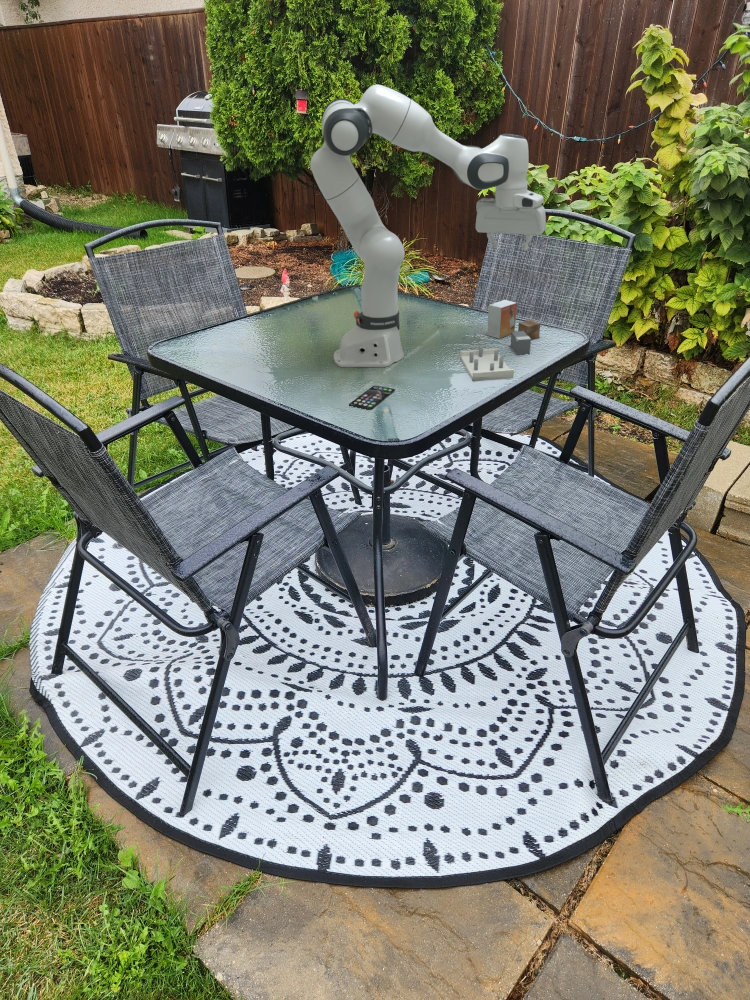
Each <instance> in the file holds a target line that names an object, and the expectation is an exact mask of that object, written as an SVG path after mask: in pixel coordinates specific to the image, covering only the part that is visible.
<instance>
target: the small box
mask: <svg viewBox="0 0 750 1000" xmlns="http://www.w3.org/2000/svg"><path fill="white" fill-rule="evenodd" d="M517 304H518V303H517V302H515V301H511V300H507V299H503V300H500V301H497V302H493V303H491V304H488V309H487V310H488V313H487V314H488V315H487V316H488V317H487V328H486V329H487V331H486V333H487V336H489V337H493V338H496V339H499V340H500V339H502V338H505V337H508V336H511V332H516V331H515V329H516V317H517V306H518V305H517Z"/></svg>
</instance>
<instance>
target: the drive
mask: <svg viewBox="0 0 750 1000" xmlns="http://www.w3.org/2000/svg"><path fill="white" fill-rule="evenodd" d="M531 344H532V340H531V338H530V337H529V336H528V335H527V334H526V333H525V332H524V331H518V330H517V331H515V332H511V335H510V348H511V349H512V351H513V352H514V353H515V355H516V356H526V355H525V354H528V355H530V354H531V353H530V352H531Z"/></svg>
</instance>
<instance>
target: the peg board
mask: <svg viewBox="0 0 750 1000" xmlns="http://www.w3.org/2000/svg"><path fill="white" fill-rule="evenodd" d="M459 352H460V353H459V354H460V355H459V358H460V359H459V360H460V361H461V363H462V364H463V366H464V368H465V370H466V372H467V373H468V375H469V376H470V379H471V380H472V382H477V381H489V380H492V381H493V380H501V379H504V380H505V379H513V378H514V377H515V376H514V375H515V369H514V368H509V366H508V365H507V363H506V362H505V360H504V359H505V358H504V357H502V356H501V355H500V349H499V348H485V349H484V346H483V345H482V346H481V345H480V346H479V347H478V349H473V350H472V349H471V350H460V351H459Z"/></svg>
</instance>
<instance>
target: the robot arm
mask: <svg viewBox="0 0 750 1000" xmlns="http://www.w3.org/2000/svg"><path fill="white" fill-rule="evenodd" d="M323 110H324V111H323V113H322V117H321V131H322V141H323V144H322V146H321V147H320V148H318V149H317V150H316V151H315V152H314V153H313V155H312V157H311V159H310V165H309V166H310V170H311V172H312V175H313V178H314V180H315V182H316V184H317V186H318V188H319V189H318V190H320V192H321V193H322V196H323V197H324V199H325V201H326V202H327V204H328V205H329V207H330V209H331V210H332V212H333V213H334V215H335V217H336V219H337V220H338V222H339V223H340V225H341V226H342V229H343V231H344V234H345V235H346V237H347V239H348V241H349V242H350V244H351V246H352V248H353V250H354V251H355V253H356V255H357V256H358V257H359V259H361V260H362V261H363V263H364V269H363V270H364V272H363V279H362V284H361V287H360V294H361V295H360V296H361V297H360V298H361V312H360V311H357V310H356V311H355V312H354V313H353V318H354V319H355V325H354V327H352V328H351V329H350V330H349V331H347V332H346V333H345V334H343V336H342V337H341V340H340V345H339V348H338V349H336V350H335V351H334V353H333V361H334V364H335V363H336V364H337V366H339V368H384V367H385V368H386V367H388V366H391V364H393V363H395V362H396V363H397V362H398V361H401V360H402V359H403V358H404V356H405V353H404V350H403V346H402V343H401V336H400V329H401V328H400V327H401V316H400V315H401V314H400V310H399V306H398V305H399V304H398V303H399V300H398V293H399V291H398V287H399V286H398V285H399V277H400V271H401V266H402V264H403V263H404V259H405V255H406V254H405V248H404V245H403V243H402V241H401V239H400V238H399V236H398V235H396V234H395V233H393V232H392V231H390V230H389V229H388V228H387V227H386V226H385V225H384V224H383V221H382V220H381V217H380V216H379V213H378V211H377V208H376V206H375V202H374V200H373V198H372V196H371V194H370V193H369V191H368V190H367V187H366V185H365V184H364V182H363V181H362V179H361V176H360V175H359V173H358V172H357V170H356V168H355V166H354V165H353V162H352V160H351V156H352V155H353V154H355V153H356V152H358V151H359V150H360V149H361V147H363V145H364V144H365V143H366V142H367V141H368V140H369V138H370V137H371V136H372V135H373V134H376V135H377V136H379V137H382V138H383V139H385V140H387V141H388V142H390V143H391V144H394V145H396V146H397V147H399V148H402V149H404V150H407V151H410V152H415V153H416V152H423V153H426V154H428V155H431V157H434V158H435V159H436V160H439V161H440V162H442V163H444V164H445V165H446V166H448V167H450V169H451V170H452V172H453V173H454V175H455V176H456V178H457V179H458V180H459V181H460V182H461V183H463V184H464V185H468V186H470V187H472V188H473V189H476V190H478V191H479V190H480V191H482V190H487V189H491V188H495V193H494V194H495V195H494V197H489V198H487V197H482V198H480V199H478V200H477V202H476V206H475V207H476V219H475V231H477V233H483V234H484V233H486V237H487V239H488V241H489V243H490V249H492V250H494V249H497V248H498V241H496V240H495V238H494V235H495V234H507V235H511V234H512V235H525V239H526V241H525V242H522V243H521V251H528V250H529V243H530V242H531V240H532V239H533V235H536V236H540V235H542V234H543V233H544V232H545V231H546V227H547V225H546V223H547V216H546V209H545V207H544V205H543V203H544V199H545V197H544V196H543V195H542V194H539V193H537V192H534V191H531V190H528V181H527V176H528V172H529V163H530V161H529V159H530V157H529V156H530V155H529V143H528V140H527V138H526V137H524V136H523V135H518V134H513V133H512V134H511V133H502V134H500V135H499V136H498V137H497V138H496V139H495V140H494V141H493V142H491V143H490V144H488V145H487V146H485V147H483V148H481V147H480V146H476V145H464V144H461V143H459V142H458V141H456V140H455V139H453V138H452V137H450V136H449V135H447V134H445V133H444V132H443V131H441V130H439V129H438V128H437V126H436V125H435V123H434V121H433V118H432V115H431V114H430V113H429V112H428V111H427V110H426V109H424V107H422V106H421V105H420V104H419V103H417V102H416V101H415V100H413V99H412V98H410V97H408V96H407V95H405V94H403V93H401V92H399V91H397V90H395V89H392V88H391V87H388V86H385V85H381V84H377V83H376V84H373V85H371V86H369V87H368V88H367V89H366V90H365V91H364V93H363V94H362V96H361V99H360V100H359V101H358V102H357V103H354V102H353V101H351V100H350V99H347V98H337V99H336V98H335V99H334V100H332V101H330V102H329V103H328V104H327V105H326V106H325V108H324V109H323ZM336 364H335V365H336Z"/></svg>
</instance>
